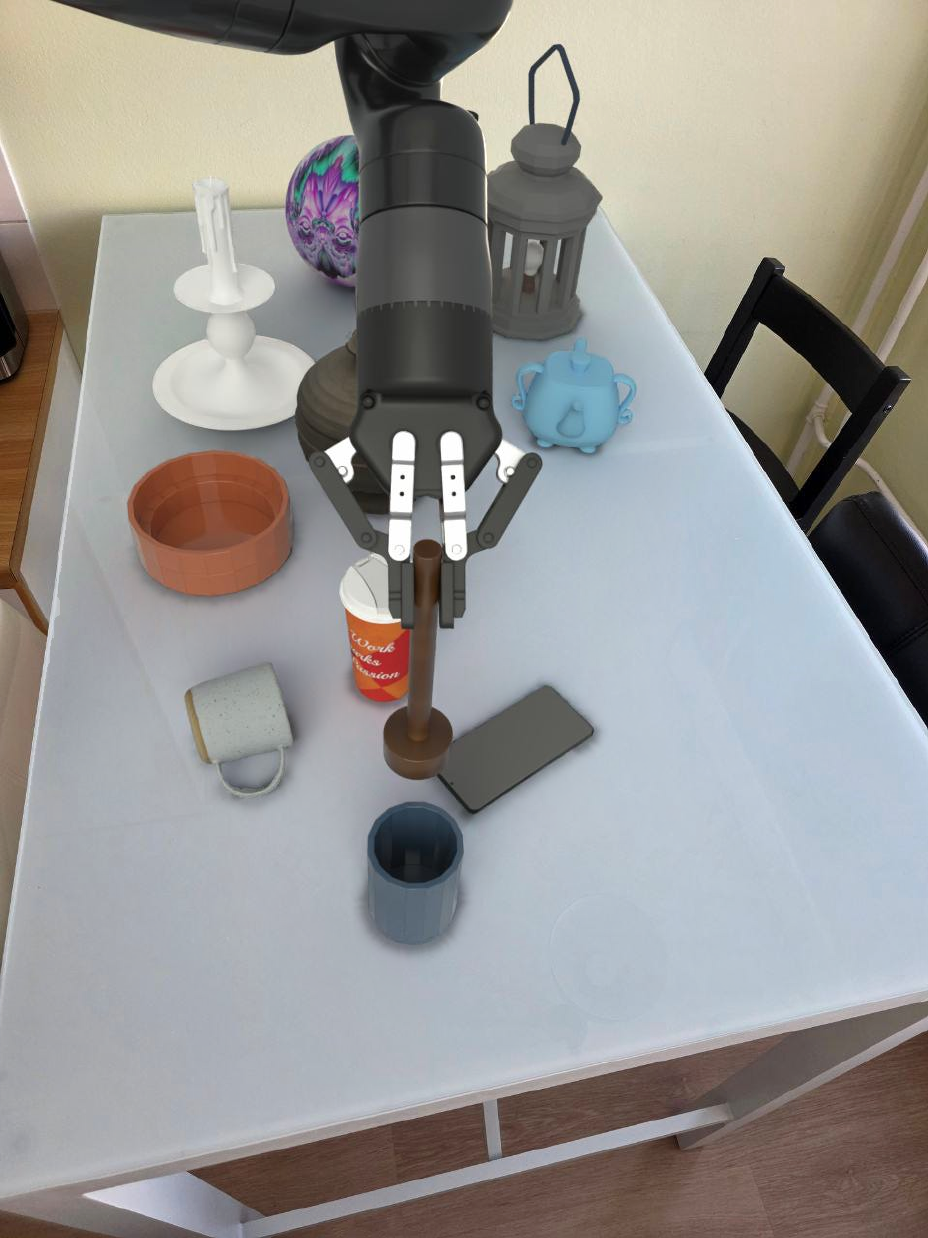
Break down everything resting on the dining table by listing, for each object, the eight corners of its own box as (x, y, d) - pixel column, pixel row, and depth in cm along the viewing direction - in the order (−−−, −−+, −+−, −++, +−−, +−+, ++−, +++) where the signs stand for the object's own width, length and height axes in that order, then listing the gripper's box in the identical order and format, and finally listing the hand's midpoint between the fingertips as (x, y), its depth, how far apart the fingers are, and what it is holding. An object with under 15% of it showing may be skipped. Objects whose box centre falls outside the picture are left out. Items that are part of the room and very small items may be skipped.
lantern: (446, 302, 136) (461, 35, 110) (525, 270, 144) (556, 14, 118) (525, 353, 128) (561, 78, 102) (604, 316, 136) (656, 52, 110)
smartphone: (597, 730, 85) (472, 813, 78) (595, 735, 86) (471, 819, 79) (548, 682, 88) (424, 758, 82) (546, 687, 89) (424, 764, 82)
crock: (437, 958, 71) (443, 903, 63) (354, 926, 72) (351, 869, 65) (467, 879, 75) (476, 820, 68) (389, 850, 77) (390, 789, 69)
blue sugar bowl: (576, 396, 123) (587, 319, 115) (646, 450, 115) (663, 372, 107) (500, 424, 118) (505, 346, 110) (567, 483, 110) (579, 403, 102)
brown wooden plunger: (440, 788, 63) (459, 589, 48) (374, 770, 63) (371, 568, 48) (458, 732, 66) (480, 529, 51) (395, 716, 66) (398, 511, 51)
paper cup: (328, 675, 88) (320, 575, 78) (389, 636, 92) (389, 536, 82) (379, 726, 85) (378, 628, 74) (440, 684, 89) (448, 585, 78)
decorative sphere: (265, 291, 134) (251, 150, 119) (329, 236, 147) (323, 101, 132) (388, 326, 130) (389, 184, 115) (443, 266, 143) (450, 131, 128)
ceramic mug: (190, 718, 84) (175, 668, 78) (277, 694, 86) (270, 644, 81) (214, 816, 78) (201, 769, 72) (307, 787, 80) (302, 740, 74)
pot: (301, 544, 99) (292, 378, 85) (296, 453, 112) (287, 295, 98) (463, 538, 102) (479, 376, 88) (440, 449, 115) (451, 296, 101)
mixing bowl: (247, 618, 93) (240, 573, 88) (109, 572, 95) (94, 526, 91) (317, 519, 103) (314, 474, 98) (191, 480, 106) (181, 435, 101)
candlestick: (298, 331, 128) (282, 117, 107) (337, 437, 113) (326, 213, 92) (147, 347, 123) (98, 127, 102) (165, 461, 108) (113, 229, 87)
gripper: (292, 291, 46) (298, 635, 47) (560, 297, 47) (560, 631, 48) (303, 329, 53) (308, 625, 54) (534, 333, 55) (535, 622, 56)
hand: (427, 626), depth 51 cm, fingers closed on brown wooden plunger
